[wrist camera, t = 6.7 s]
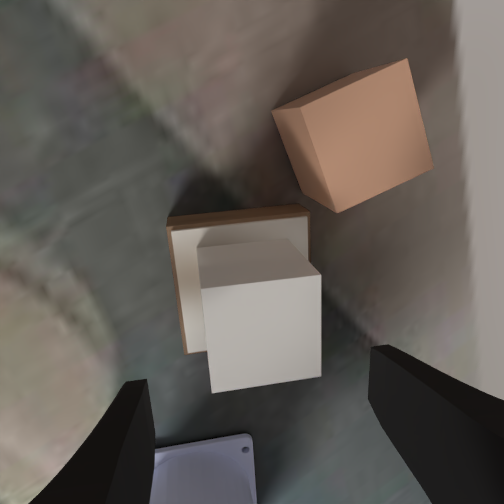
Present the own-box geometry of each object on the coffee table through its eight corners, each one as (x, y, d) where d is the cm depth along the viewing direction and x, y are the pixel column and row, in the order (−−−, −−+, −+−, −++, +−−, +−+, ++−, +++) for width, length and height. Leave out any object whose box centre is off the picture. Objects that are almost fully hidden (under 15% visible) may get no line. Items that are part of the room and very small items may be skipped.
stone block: (289, 319, 21) (321, 376, 16) (204, 330, 20) (212, 393, 16) (287, 238, 19) (321, 274, 15) (196, 247, 19) (200, 289, 14)
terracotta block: (377, 157, 21) (434, 168, 16) (302, 193, 21) (337, 213, 16) (352, 73, 20) (407, 57, 15) (271, 111, 19) (299, 107, 15)
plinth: (300, 316, 24) (313, 337, 21) (184, 333, 23) (184, 357, 21) (297, 202, 22) (311, 212, 19) (167, 215, 21) (166, 227, 18)
